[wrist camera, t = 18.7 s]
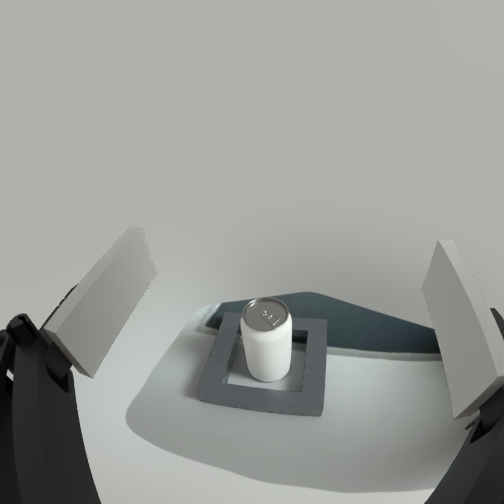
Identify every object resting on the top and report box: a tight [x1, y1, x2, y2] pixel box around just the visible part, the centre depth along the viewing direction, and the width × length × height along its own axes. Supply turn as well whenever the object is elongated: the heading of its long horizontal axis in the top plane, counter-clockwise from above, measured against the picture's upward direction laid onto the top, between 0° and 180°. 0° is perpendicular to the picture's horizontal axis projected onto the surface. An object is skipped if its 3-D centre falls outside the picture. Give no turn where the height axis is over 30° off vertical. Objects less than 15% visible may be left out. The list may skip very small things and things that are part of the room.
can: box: [241, 297, 292, 382], centre depth 37 cm, size 6×6×12 cm
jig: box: [196, 312, 327, 416], centre depth 39 cm, size 17×16×2 cm
